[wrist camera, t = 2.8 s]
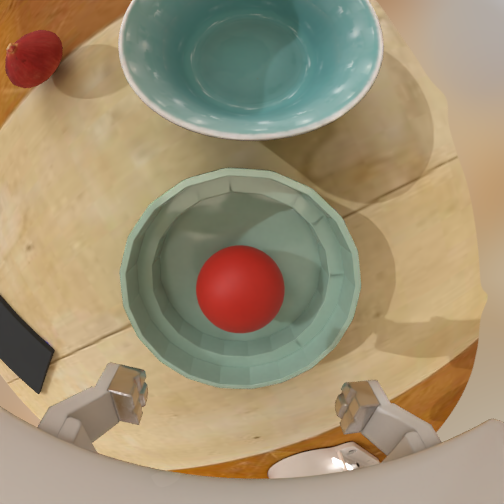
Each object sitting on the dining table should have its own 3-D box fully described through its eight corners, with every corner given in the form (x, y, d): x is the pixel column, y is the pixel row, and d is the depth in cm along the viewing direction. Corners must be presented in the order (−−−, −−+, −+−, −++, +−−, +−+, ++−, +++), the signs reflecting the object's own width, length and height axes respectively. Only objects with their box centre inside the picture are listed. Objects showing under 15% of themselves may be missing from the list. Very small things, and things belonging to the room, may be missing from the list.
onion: (35, 103, 17) (-17, 93, 10) (35, 61, 16) (-11, 44, 8) (78, 76, 17) (28, 53, 10) (76, 34, 16) (34, 6, 8)
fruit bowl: (370, 257, 24) (400, 280, 18) (251, 375, 27) (254, 413, 22) (226, 126, 20) (222, 112, 15) (113, 280, 23) (86, 307, 18)
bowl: (180, 175, 21) (146, 179, 13) (141, 24, 16) (107, -20, 8) (361, 130, 20) (416, 117, 12) (306, -11, 16) (328, -61, 8)
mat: (54, 349, 26) (51, 353, 25) (40, 391, 28) (38, 394, 27) (-20, 270, 22) (-24, 272, 21) (-24, 325, 25) (-27, 327, 24)
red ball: (293, 268, 23) (312, 303, 17) (245, 319, 24) (247, 365, 18) (234, 219, 22) (232, 240, 15) (187, 277, 23) (170, 315, 17)
